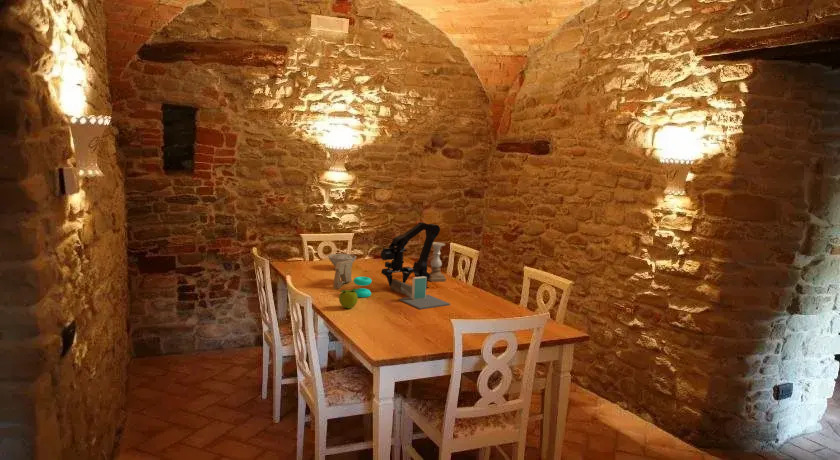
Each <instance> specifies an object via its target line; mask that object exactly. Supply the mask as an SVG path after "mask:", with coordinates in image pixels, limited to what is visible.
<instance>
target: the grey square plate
mask: <svg viewBox="0 0 840 460" xmlns="http://www.w3.org/2000/svg"><path fill="white" fill-rule="evenodd" d="M398 300H399V301H400V302H402V303H405V304H406V305H409V306H411V307H414V308H416V309H418V310H424V309H431V308H432V309H433V308H439V307H440V308H441V307H446V306H451V303H450V302H447V301H446V300H442V299H440V298H438V297H435V296H433V295H430V294H426V298H423V299H416V300H413V299H412V297H409V296H407V297H401V298H398Z"/></svg>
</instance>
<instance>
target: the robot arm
mask: <svg viewBox="0 0 840 460" xmlns="http://www.w3.org/2000/svg"><path fill="white" fill-rule="evenodd" d="M422 231H425V239H424V243H423V246H422V250H421V251H420V256H419V259H418V260H416V261H414V263H413V266H412V267H410V266H403V265H404V264H405V261H404V253H405V252H407V249H406V248H405V247H406V246H407V245H408V243H409V241H411V239H413V238H414V237H416V236H417V235H418V234H420V233H421V232H422ZM440 232H441V228H440V225H438V224H434V223H426V222H421V221H420V222H418V223H417V224H416V225H414V226H413V227H412V228H410V229H409V230H407V231H406V232H405V233H403V234H400V235H397V236H395V237H393V239H392V242H391V243H390V244H389V246H388V248H387V247H383V249H382V250H381V252H380V258H381V260H382V261H385V262H384V267H385V268H382V270H381V274H382V275H384V276H385V278H386V279H387V282H388V286H389V287H390V286H391V284H392V279H393V274H395V273H401V274H402V282H403V283H405V284H406V282H407V281H408V278H409V276H410V275H412V274H414V277H422V276H425V277H427V280H426V289H430V287H429V286H428V281H429V280H428V279H429V278H430V275H429V273H430V272H428V259H429V256H430V255H431V250H432V248H433V245H432V244H433V242H435V239H436V238H437V237H438V235H439V234H440ZM390 261H391V262H390Z"/></svg>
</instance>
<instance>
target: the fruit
mask: <svg viewBox="0 0 840 460" xmlns="http://www.w3.org/2000/svg"><path fill="white" fill-rule="evenodd" d="M357 289H358V288H353V289H343V290H340V293H339V296H338V299H339V301H338V302H339V303H340V305H341V307H343V309H349V310H350V309H352V308H354V307H355V306H356V304H357V303H358V301H359V299H358V298H359V297H357V294H356V292H355V291H354V290H357Z"/></svg>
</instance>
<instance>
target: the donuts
mask: <svg viewBox="0 0 840 460" xmlns="http://www.w3.org/2000/svg"><path fill="white" fill-rule="evenodd" d="M372 281H373V280H372V279H371V278H370V277H368V276H355V278H353V284H355V285H357V286H362V288H361V287H360V288H359V287H358V288H356V289H357V290H354V291H355V292H356V294H357V298H369V297H370V296H372V292H371V290H370V289H368V288H365V287H364V286H369V285H371V284H372ZM363 287H364V288H363Z"/></svg>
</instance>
